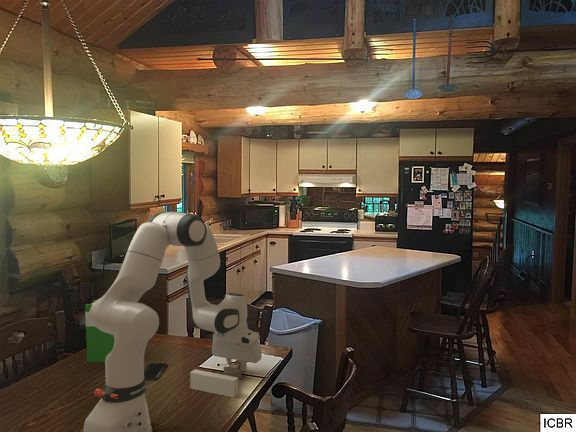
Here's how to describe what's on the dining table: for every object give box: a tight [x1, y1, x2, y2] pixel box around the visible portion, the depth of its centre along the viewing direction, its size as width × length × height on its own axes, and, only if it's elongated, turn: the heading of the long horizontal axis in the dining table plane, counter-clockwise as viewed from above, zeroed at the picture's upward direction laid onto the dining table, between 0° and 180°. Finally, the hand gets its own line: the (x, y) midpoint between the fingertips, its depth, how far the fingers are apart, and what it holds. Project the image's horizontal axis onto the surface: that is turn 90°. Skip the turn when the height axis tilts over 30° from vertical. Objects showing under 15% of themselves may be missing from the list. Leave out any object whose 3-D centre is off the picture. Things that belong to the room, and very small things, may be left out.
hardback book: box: [84, 299, 114, 363], centre depth 202 cm, size 18×7×24 cm, turn 85°
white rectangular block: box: [189, 368, 239, 399], centre depth 175 cm, size 9×18×6 cm, turn 66°
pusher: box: [223, 360, 248, 380], centre depth 187 cm, size 9×7×4 cm
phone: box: [144, 362, 169, 382], centre depth 189 cm, size 8×1×15 cm
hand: (236, 369), depth 186 cm, fingers closed on pusher, 3 cm apart
